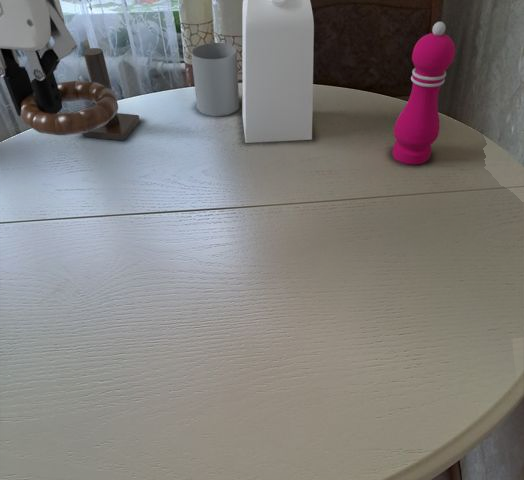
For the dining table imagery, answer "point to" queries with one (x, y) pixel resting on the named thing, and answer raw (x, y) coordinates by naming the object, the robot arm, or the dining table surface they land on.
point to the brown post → (98, 73)
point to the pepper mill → (423, 98)
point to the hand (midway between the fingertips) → (40, 110)
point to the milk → (277, 70)
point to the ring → (76, 120)
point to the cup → (216, 78)
